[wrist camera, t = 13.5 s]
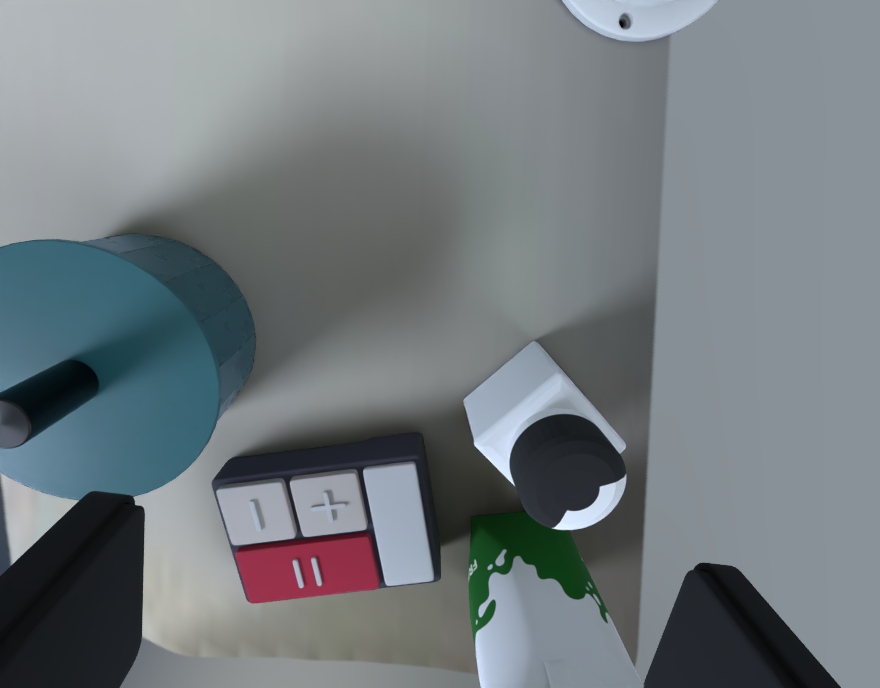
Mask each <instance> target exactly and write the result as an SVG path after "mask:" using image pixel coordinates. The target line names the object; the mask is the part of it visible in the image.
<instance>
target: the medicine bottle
mask: <svg viewBox="0 0 880 688" xmlns="http://www.w3.org/2000/svg"><path fill="white" fill-rule="evenodd" d="M463 404H464V408H465V412H466V416H467V420H468V423H469V427H470V431H471V435H472V439H473V442H474V445H475V447H476V448H477V449H478V450H479V451H480V452H481V453H482V454H483V455H484V456H485V457H486V458H487V459H488V460H489V461H490V462H491V463H492V464H493V465H494V466H495V467H496V468H497V469H498V470H499V471H500V472H501V473H502V474H503V475H504V476H505V477H506V478H507V479H508V480H509V481H510V482H511V483H512V484H513V485H514V486H515V488H516V490H517V493H518V496H519V499H520V501H521V504H522V506H523V508H524V509H525V511H526V512H527V513H528V515H529V516H531V517H532V518H533V519H534V520H535V521H537V522H538V523H540V524H542V525H544V526H546V527H549V528H553V529H558V530H575V529H581V528H585V527H588V526H590V525H593V524H595V523H597V522H598V521H600V520H602V519H603V518H604V517H606V516H607V515H608V514H609V513H610V512H611V511H612V510H613V509H614V507H615V506H616V505H617V503H618V502H619V500H620V498H621V496H622V494H623V492H624V489H625V484H626V468H625V464H624V461H623V459H622V457H621V455H620V453H621V452H622V451H624V450H625V448H626V445H625V442H624V441H623V440H622V439H621V437H620V436H619V435H618V434H617V433H616V432H615V431H614V429H613V428H612V427H611V426H610V425H609V424H608V422H607V421H606V420H605V419H604V418H603V417H602V415H601V414H600V413H599V412H598V411H597V410H596V408H595V407H594V406H593V405H592V404H591V403H590V401H589V400H588V399H587V398H586V397H585V396H584V395H583V393H582V392H581V391H580V390H579V389H578V388H577V387H576V386H575V384H574V383H573V382H572V381H571V380H570V379H569V378H568V376H567V375H566V374H565V373H564V372H563V371H562V370H561V368H560V367H559V366H558V365H557V364H556V363H555V362H554V360H553V359H552V358H551V357H550V356H549V355H548V354H547V352H546V351H545V350H544V349H543V348H542V347H541V346H540V344H539V343H538V342H536V341H533V342H531V343H530V344H528V345H527V346H526V347H525V348H524V349H522V350H521V351H520V352H519V353H518V354H516V355H515V356H514V357H513V358H512V359H511V360H509V361H508V362H507V363H506V364H505V365H503V366H502V367H501V368H500V369H499V370H498V371H496V372H495V373H494V374H493V375H492V376H490V377H489V378H488V379H487V380H486V381H485V382H483V383H482V384H481V385H480V386H479V387H477V388H476V389H475V390H474V391H473V392H472V393H470V394H469V395H468V396H467V397H466V398H465V399H464V400H463Z"/></svg>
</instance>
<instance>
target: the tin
mask: <svg viewBox="0 0 880 688" xmlns="http://www.w3.org/2000/svg"><path fill="white" fill-rule="evenodd" d="M83 243H88V244H92V245H97V246H100V247H103V248H106V249H109V250H112V251H115V252H118V253H120V254H122V255H124V256H126V257H128V258H130V259H132V260H134V261H136V262H138V263H140V264H141V265H143V266H145V267H146V268H148V269H149V270H151V271H152V272H154V273H155V274H157V275H158V276H159V277H161V278H162V279H163V280H164V281H166V282H167V283H168V284H169V285H171V286H172V287H173V288H174V289H175V290H176V291H177V292H178V293H179V294H180V295H181V296H182V297H183V298H184V299H185V301H186V302H187V303H188V304H189V306H190V307H191V308H192V309H193V311H194V312H195V313H196V315H197V316H198V318H199V319H200V321H201V323H202V324H203V326H204V328H205V329H206V331H207V333H208V335H209V337H210V340H211V342H212V344H213V346H214V349H215V352H216V356H217V359H218V362H219V367H220V374H221V380H222V399H221V407H220V413H219V417H218V419H219V418H220V417H221V416H222V414H223V413H224V412H225V411H226V410H227V408H228V407H229V406H230V405H231V403H232V402H233V401H234V400H235V399H236V397H237V395H238V393H239V392H240V390H241V388H242V387H243V385H244V384H245V382H246V380H247V378H248V376H249V374H250V372H251V371H252V368H253V362H254V356H255V350H256V336H255V328H254V323H253V319H252V316H251V312H250V310H249V307H248V305H247V303H246V300H245V299H244V297H243V295H242V293H241V292H240V290H239V288H238V287H237V286H236V284H235V283H234V282H233V280H232V279H231V278H230V277H229V276H228V275H227V274H226V272H225V271H224V270H223V269H222V268H221V267H219V266H218V265H217V264H216V263H215V262H213V261H212V260H211V259H210V258H208V257H207V256H205V255H204V254H202V253H201V252H199V251H197V250H195V249H193V248H191V247H189V246H187V245H185V244H182V243H179V242H178V241H175V240H171V239H166V238H162V237H158V236H148V235H140V234H127V235H121V236H114V237H108V238H102V239H96V240H89V241H83ZM217 421H218V420H217Z"/></svg>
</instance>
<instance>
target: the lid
mask: <svg viewBox="0 0 880 688" xmlns="http://www.w3.org/2000/svg"><path fill="white" fill-rule="evenodd" d="M221 399H222V380H221V374H220V367H219V362H218V359H217V356H216V352H215V349H214V346H213V344H212V342H211V340H210V337H209V335H208V333H207V331H206V329H205V328H204V326H203V324H202V323H201V321H200V319H199V318H198V316H197V315H196V313H195V312H194V311H193V309H192V308H191V307H190V306H189V304H188V303H187V302H186V301H185V299H184V298H183V297H182V296H181V295H180V294H179V293H178V292H177V291H176V290H175V289H174V288H173V287H172V286H171V285H169V284H168V283H167V282H166V281H164V280H163V279H162V278H161V277H159V276H158V275H157V274H155V273H154V272H152V271H151V270H149V269H148V268H146V267H145V266H143V265H141V264H140V263H138V262H136V261H134V260H132V259H130V258H128V257H126V256H124V255H122V254H120V253H118V252H115V251H112V250H109V249H106V248H103V247H100V246H97V245H92V244H88V243H83V242H79V241H70V240H60V239H46V240H32V241H25V242H19V243H13V244H9V245H6V246H3V247H0V472H1V473H2V474H4V475H5V476H7V477H9V478H11V479H13V480H15V481H17V482H19V483H21V484H23V485H25V486H27V487H30V488H32V489H35V490H38V491H40V492H43V493H46V494H50V495H54V496H58V497H62V498H68V499H74V500H81V499H82V498H83V497H84V496H85V495H86V494H88V493H89V492H91V491H101V492H109V493H118V494H126V495H131V496H133V497H134V496H138V495H141V494H145V493H148V492H150V491H152V490H155V489H157V488H159V487H161V486H163V485H165V484H167V483H168V482H170V481H172V480H173V479H175V478H176V477H177V476H179V475H180V474H181V473H182V472H184V471H185V470H186V469H187V468H188V467H189V466H190V465H191V464H192V463H193V462H194V461H195V460H196V458H197V457H198V456H199V455H200V454H201V452H202V451H203V449H204V448H205V446H206V445H207V443H208V442H209V440H210V438H211V436H212V433H213V431H214V429H215V427H216V423H217V420H218V417H219V413H220V407H221Z"/></svg>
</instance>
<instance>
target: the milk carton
mask: <svg viewBox="0 0 880 688" xmlns="http://www.w3.org/2000/svg"><path fill="white" fill-rule="evenodd" d="M468 581H469V603H470V618H471V625H472V632H473V639H474V645H475V652H476V659H477V665H478V672H479V679H480V685H481V688H644V683H643V682H642V680H641V679H640V677H639V676H638V674H637V672H636V670H635V668H634V666H633V664H632V662H631V659H630V657H629V655H628V653H627V651H626V649H625V647H624V645H623V643H622V641H621V639H620V636H619V634H618V632H617V630H616V628H615V626H614V624H613V622H612V620H611V618H610V616H609V613H608V611H607V609H606V607H605V605H604V603H603V601H602V599H601V597H600V595H599V593H598V591H597V588H596V586H595V584H594V582H593V580H592V578H591V576H590V574H589V572H588V570H587V568H586V566H585V563H584V561H583V559H582V557H581V555H580V553H579V551H578V549H577V547H576V545H575V543H574V541H573V539H572V537H571V535H570V533H569V531H568V530H558V529H553V528H549V527H546V526H544V525H542V524H540V523H538V522H537V521H535V520H534V519H533V518H532V517H531V516H529V515H528V513H527V512H526V511H525V512H515V513H505V514H495V515H485V516H474V517H472V520H471V540H470V559H469V579H468Z"/></svg>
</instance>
